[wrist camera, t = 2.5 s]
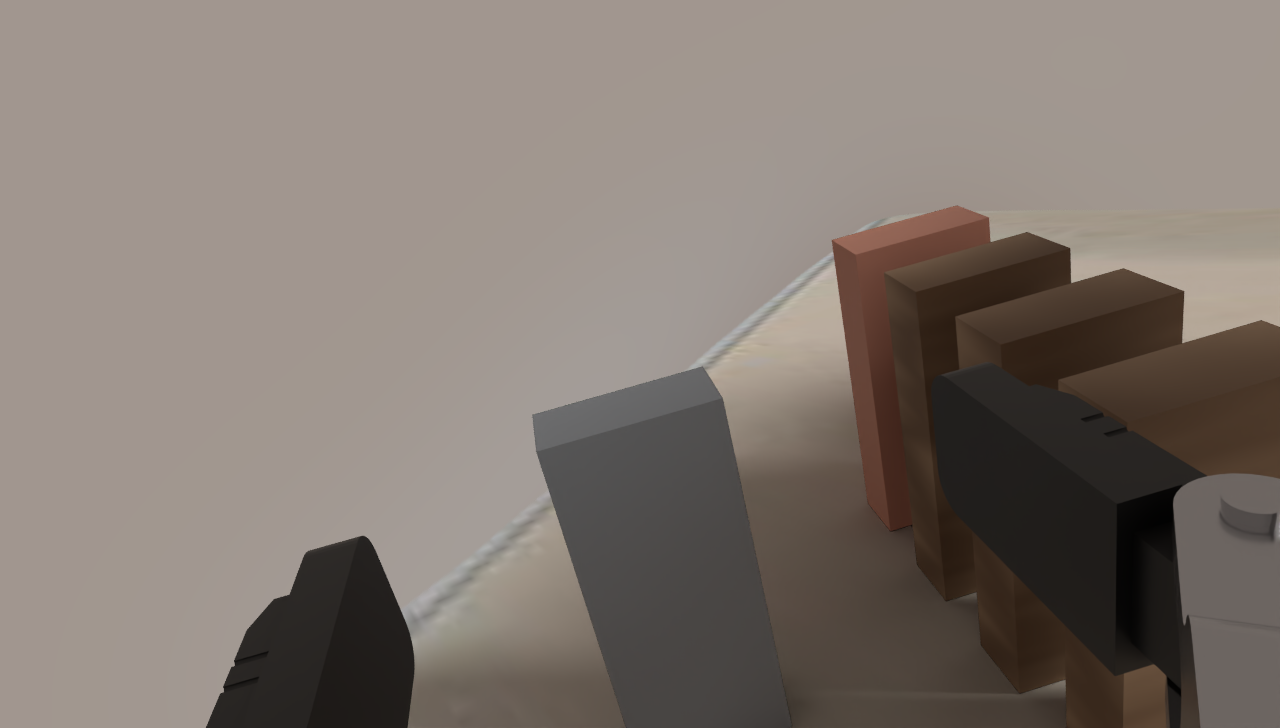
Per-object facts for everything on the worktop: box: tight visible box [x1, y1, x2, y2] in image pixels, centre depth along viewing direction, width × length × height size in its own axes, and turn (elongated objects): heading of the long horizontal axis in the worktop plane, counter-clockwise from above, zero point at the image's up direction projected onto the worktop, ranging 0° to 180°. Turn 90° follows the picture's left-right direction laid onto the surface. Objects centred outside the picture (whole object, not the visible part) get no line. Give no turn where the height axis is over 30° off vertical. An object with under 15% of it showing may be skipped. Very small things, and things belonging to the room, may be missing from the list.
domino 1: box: [832, 206, 990, 531], centre depth 32 cm, size 2×5×12 cm, turn 100°
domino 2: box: [884, 232, 1071, 601], centre depth 28 cm, size 2×5×12 cm, turn 100°
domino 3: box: [955, 268, 1184, 693], centre depth 24 cm, size 2×5×12 cm, turn 100°
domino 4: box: [1058, 320, 1280, 728], centre depth 20 cm, size 2×5×12 cm, turn 100°
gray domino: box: [533, 367, 792, 728], centre depth 25 cm, size 2×5×12 cm, turn 100°
